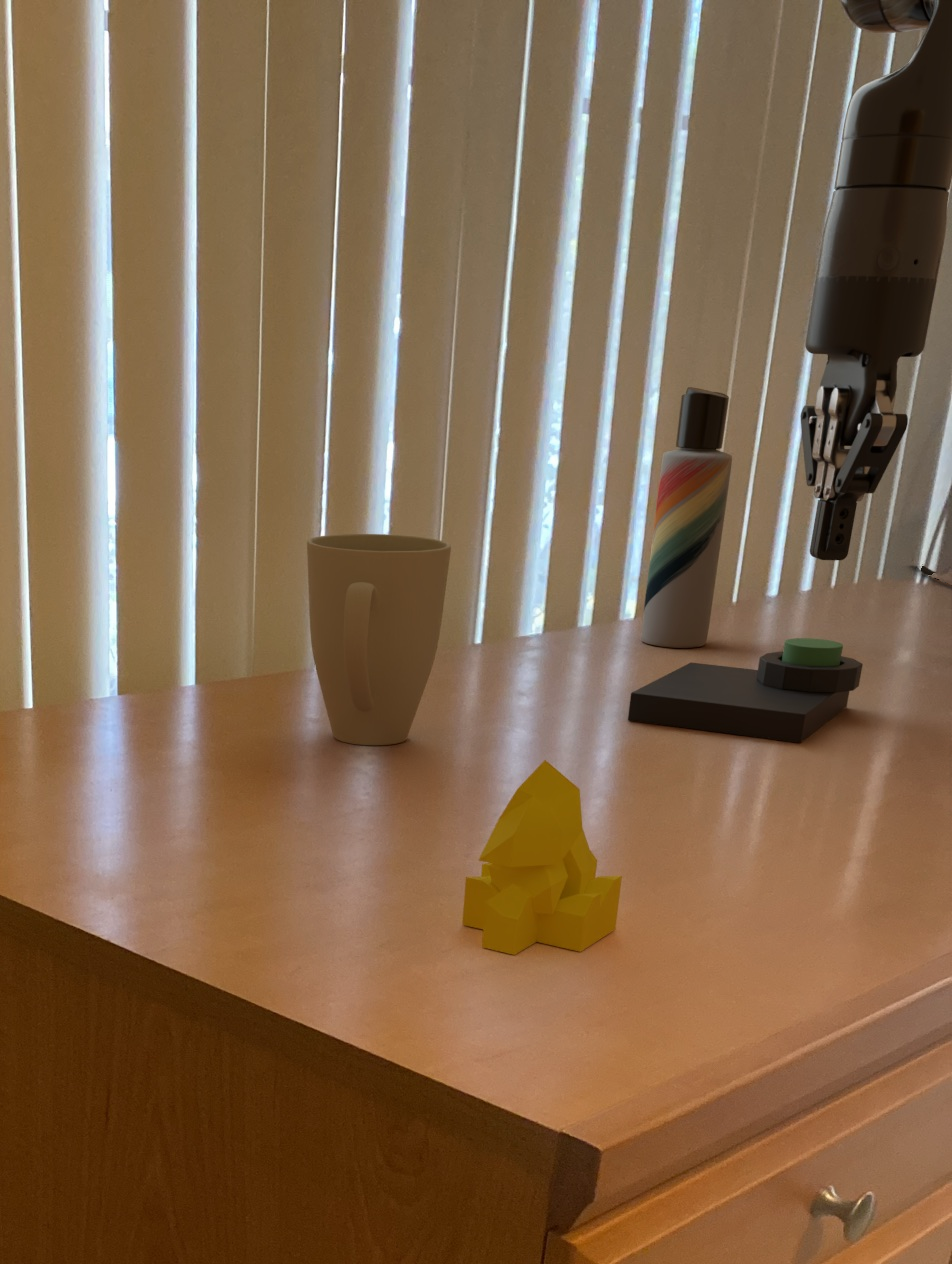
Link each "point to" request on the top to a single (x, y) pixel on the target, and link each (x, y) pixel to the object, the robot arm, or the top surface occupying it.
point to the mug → (375, 629)
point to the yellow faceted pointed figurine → (541, 873)
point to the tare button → (812, 652)
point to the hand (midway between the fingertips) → (827, 558)
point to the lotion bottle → (688, 525)
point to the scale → (749, 698)
